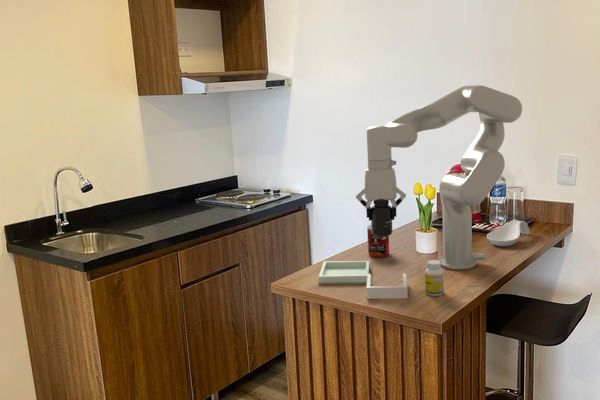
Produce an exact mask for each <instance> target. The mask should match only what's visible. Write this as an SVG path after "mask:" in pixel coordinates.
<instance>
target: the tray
mask: <svg viewBox="0 0 600 400" xmlns="http://www.w3.org/2000/svg"><path fill="white" fill-rule="evenodd" d="M370 266H371V265H370V260H338V261H337V260H336V261H333V260H331V261H325V260H323V262H322V265H321V268H320V272H319V274H318V284H319V285H321V284H322V285H326V284H327V285H331V284H334V285H336V284H338V285H339V284H343V285H344V284H345V285H346V284H367V277H368V274H370V268H371V267H370Z"/></svg>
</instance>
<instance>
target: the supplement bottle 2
mask: <svg viewBox="0 0 600 400" xmlns="http://www.w3.org/2000/svg"><path fill="white" fill-rule="evenodd" d="M426 267H427V268H425V270H424V283H425V284H424V285H425V286H424V287H425V288H424V289H425V294H427V295H428V296H431V297H436V296H442V295H444V291H445V289H444V288H445V287H444V284H445V283H444V270H443V269H442V268H441V262H440V261H439V260H437V259H430V260H428V261H426Z"/></svg>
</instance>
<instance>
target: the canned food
mask: <svg viewBox="0 0 600 400" xmlns="http://www.w3.org/2000/svg"><path fill="white" fill-rule="evenodd" d="M366 230H367V250H368V252H367V253H368V256H369V257H371V258H376V259H379V258H385V257H388V256H389V254H390V237H389V236H390V235H388V236H375V235H373V234H372V232H371V224H369V225H367V229H366Z"/></svg>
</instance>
